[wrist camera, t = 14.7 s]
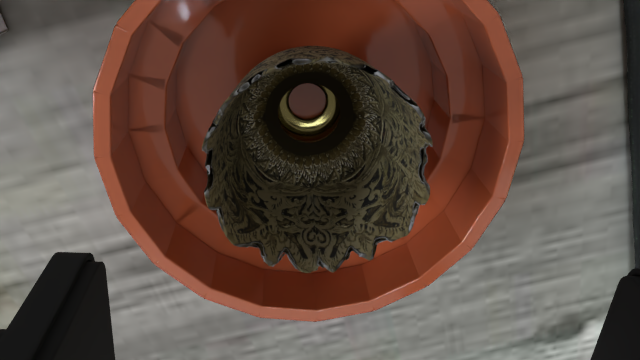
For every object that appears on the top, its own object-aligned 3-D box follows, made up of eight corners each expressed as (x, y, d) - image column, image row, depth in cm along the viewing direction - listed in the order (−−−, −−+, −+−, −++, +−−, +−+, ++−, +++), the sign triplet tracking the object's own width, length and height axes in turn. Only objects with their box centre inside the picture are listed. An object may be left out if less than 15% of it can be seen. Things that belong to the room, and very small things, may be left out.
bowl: (298, -181, 22) (306, -211, 16) (539, 91, 27) (606, 137, 21) (61, 107, 25) (3, 161, 20) (310, 295, 31) (318, 378, 25)
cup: (381, 180, 27) (419, 277, 20) (223, 176, 27) (204, 275, 20) (399, 18, 24) (452, 65, 17) (221, 9, 24) (197, 54, 16)
